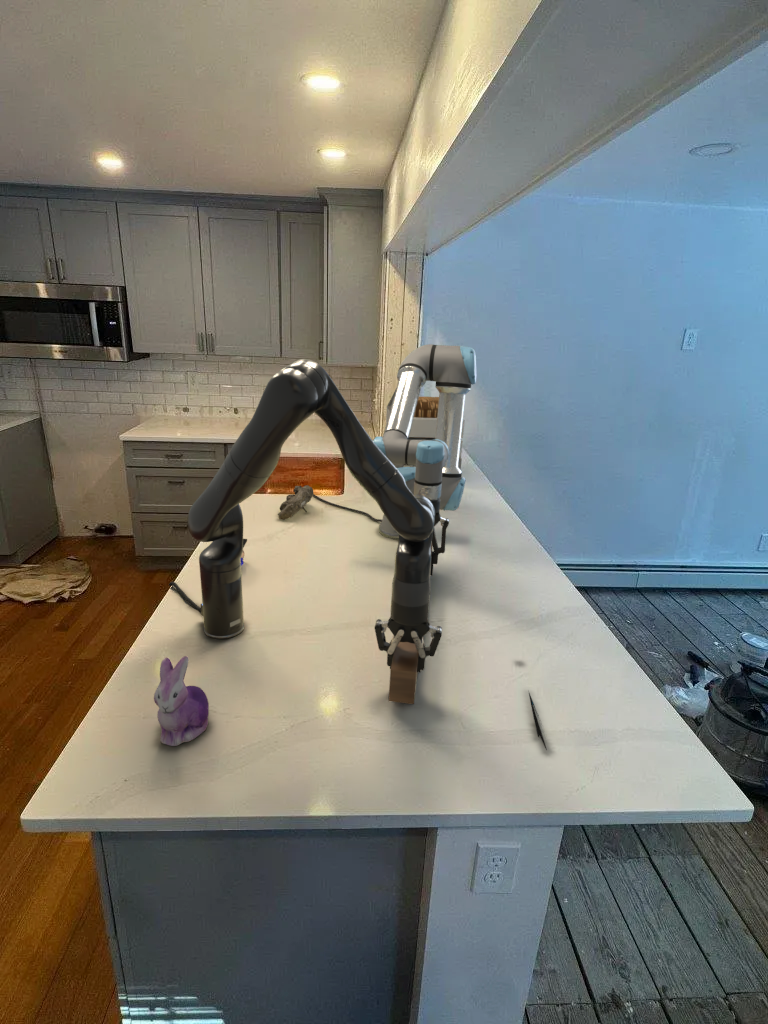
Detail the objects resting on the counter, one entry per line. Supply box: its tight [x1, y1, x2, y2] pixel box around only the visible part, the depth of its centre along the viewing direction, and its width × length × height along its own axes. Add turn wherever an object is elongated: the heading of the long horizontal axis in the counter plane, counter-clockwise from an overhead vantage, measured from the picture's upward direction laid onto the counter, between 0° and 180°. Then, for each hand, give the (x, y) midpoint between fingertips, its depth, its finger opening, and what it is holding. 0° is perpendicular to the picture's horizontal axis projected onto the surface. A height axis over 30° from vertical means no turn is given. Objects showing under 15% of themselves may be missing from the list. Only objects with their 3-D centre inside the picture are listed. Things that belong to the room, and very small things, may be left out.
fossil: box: [277, 484, 315, 521], centre depth 215 cm, size 22×10×15 cm
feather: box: [528, 689, 548, 751], centre depth 116 cm, size 2×28×2 cm
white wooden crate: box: [385, 389, 465, 471], centre depth 268 cm, size 34×33×41 cm
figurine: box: [153, 655, 210, 747], centre depth 102 cm, size 9×10×15 cm
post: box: [388, 543, 433, 705], centre depth 141 cm, size 65×5×8 cm, turn 173°
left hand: (405, 668), depth 118 cm, fingers closed on post, 5 cm apart
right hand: (421, 572), depth 166 cm, fingers closed on post, 5 cm apart
